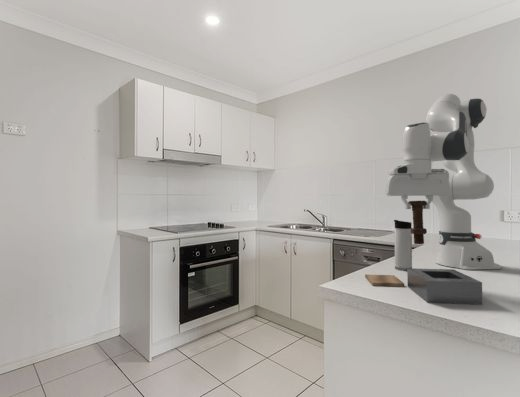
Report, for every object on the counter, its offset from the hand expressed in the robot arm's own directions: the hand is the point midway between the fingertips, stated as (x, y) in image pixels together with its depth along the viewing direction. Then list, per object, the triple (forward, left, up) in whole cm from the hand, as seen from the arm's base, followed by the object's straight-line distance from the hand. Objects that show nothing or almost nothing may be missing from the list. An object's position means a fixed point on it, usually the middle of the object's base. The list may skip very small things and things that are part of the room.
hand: (417, 208), depth 99 cm
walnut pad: (+12, +2, -25) cm, 28 cm away
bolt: (0, +1, -12) cm, 12 cm away
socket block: (-1, +14, -25) cm, 29 cm away
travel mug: (-1, -17, -25) cm, 30 cm away
